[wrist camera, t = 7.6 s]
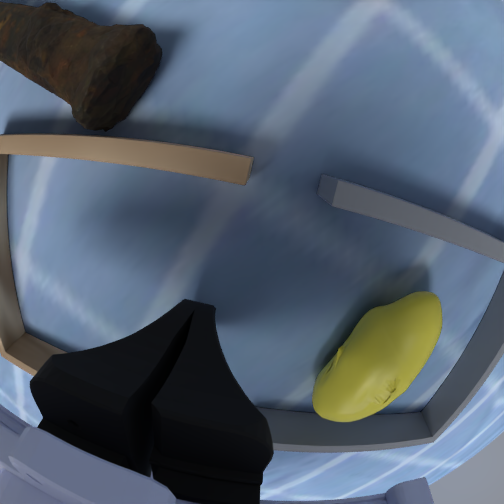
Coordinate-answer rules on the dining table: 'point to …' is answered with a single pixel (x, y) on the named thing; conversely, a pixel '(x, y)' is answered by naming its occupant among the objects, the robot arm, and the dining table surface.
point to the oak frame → (103, 150)
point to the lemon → (379, 358)
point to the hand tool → (80, 60)
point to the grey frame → (458, 381)
